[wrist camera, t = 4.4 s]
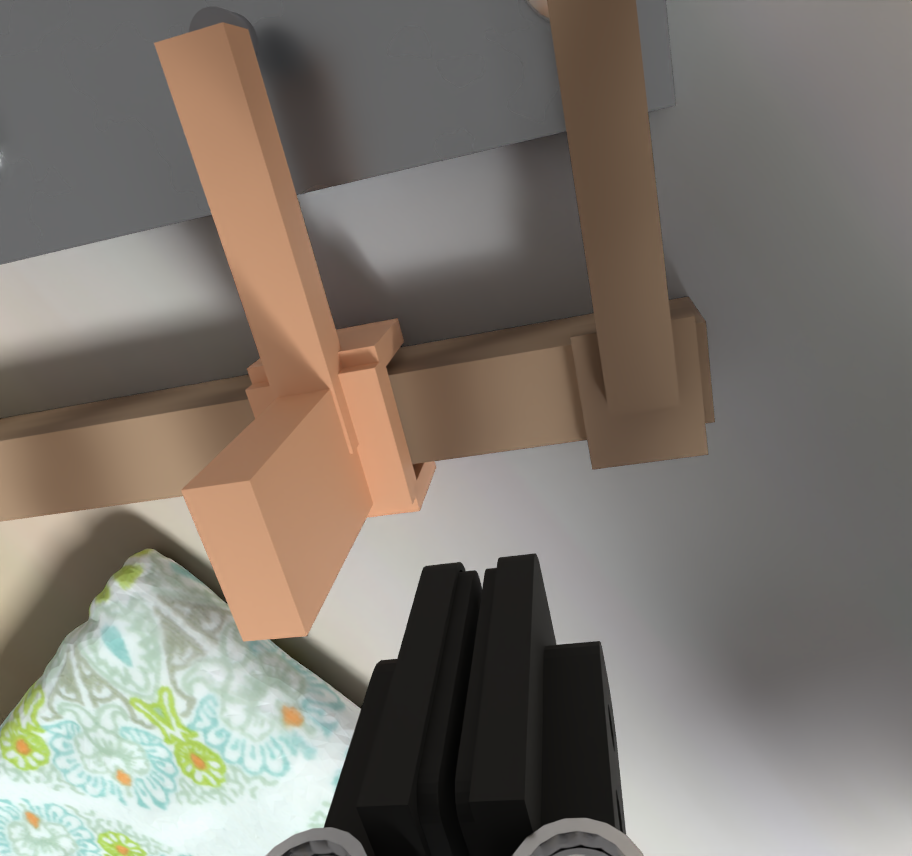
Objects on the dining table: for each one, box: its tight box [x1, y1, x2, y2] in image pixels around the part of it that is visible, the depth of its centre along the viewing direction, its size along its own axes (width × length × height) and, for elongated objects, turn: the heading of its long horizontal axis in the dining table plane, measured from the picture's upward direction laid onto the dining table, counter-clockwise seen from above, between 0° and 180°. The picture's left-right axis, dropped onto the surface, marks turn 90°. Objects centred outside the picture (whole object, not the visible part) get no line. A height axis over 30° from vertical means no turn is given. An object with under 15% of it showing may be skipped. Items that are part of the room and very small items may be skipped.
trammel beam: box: [0, 0, 715, 521], centre depth 21 cm, size 28×14×5 cm, turn 103°
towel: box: [0, 549, 361, 856], centre depth 32 cm, size 18×21×5 cm
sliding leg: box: [154, 6, 436, 642], centre depth 18 cm, size 4×14×10 cm, turn 13°
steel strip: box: [0, 0, 676, 265], centre depth 20 cm, size 28×8×2 cm, turn 103°
